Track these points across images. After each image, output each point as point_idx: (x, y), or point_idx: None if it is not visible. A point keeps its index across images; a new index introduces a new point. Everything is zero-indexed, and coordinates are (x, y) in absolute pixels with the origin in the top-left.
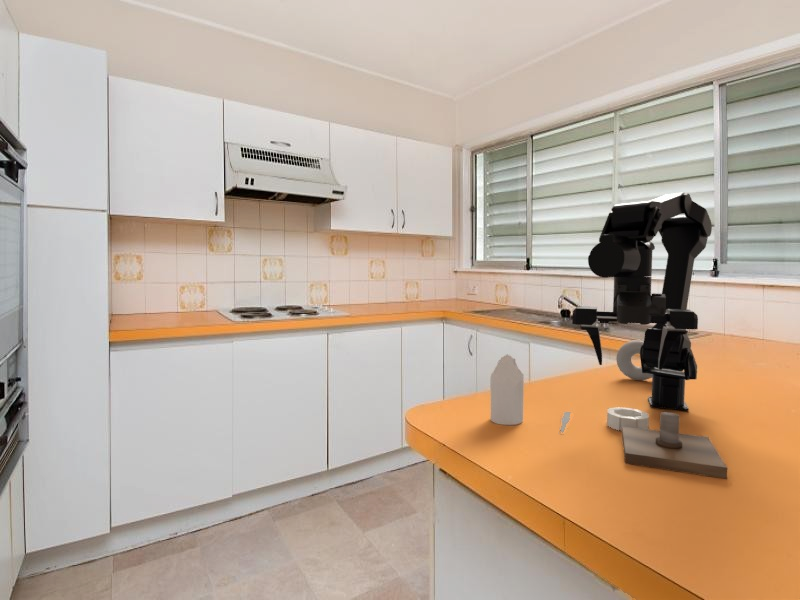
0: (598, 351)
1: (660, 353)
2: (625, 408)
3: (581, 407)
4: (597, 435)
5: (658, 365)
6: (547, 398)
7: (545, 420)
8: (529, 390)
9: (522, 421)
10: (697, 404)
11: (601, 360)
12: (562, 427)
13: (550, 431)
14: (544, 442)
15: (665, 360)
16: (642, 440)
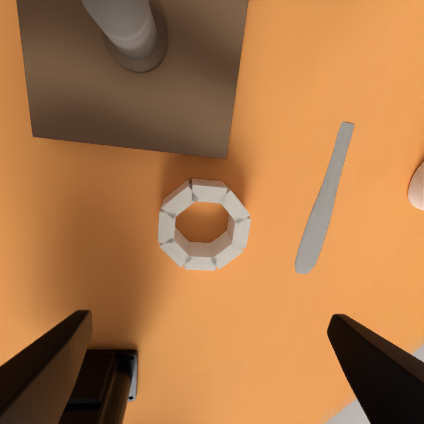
0: (411, 363)
1: (38, 406)
2: (203, 263)
3: (272, 307)
4: (274, 139)
5: (87, 341)
6: (326, 338)
7: (360, 205)
8: None
9: (412, 178)
10: None
11: (351, 326)
12: (339, 164)
13: (367, 135)
14: (398, 53)
15: (29, 345)
16: (197, 53)
